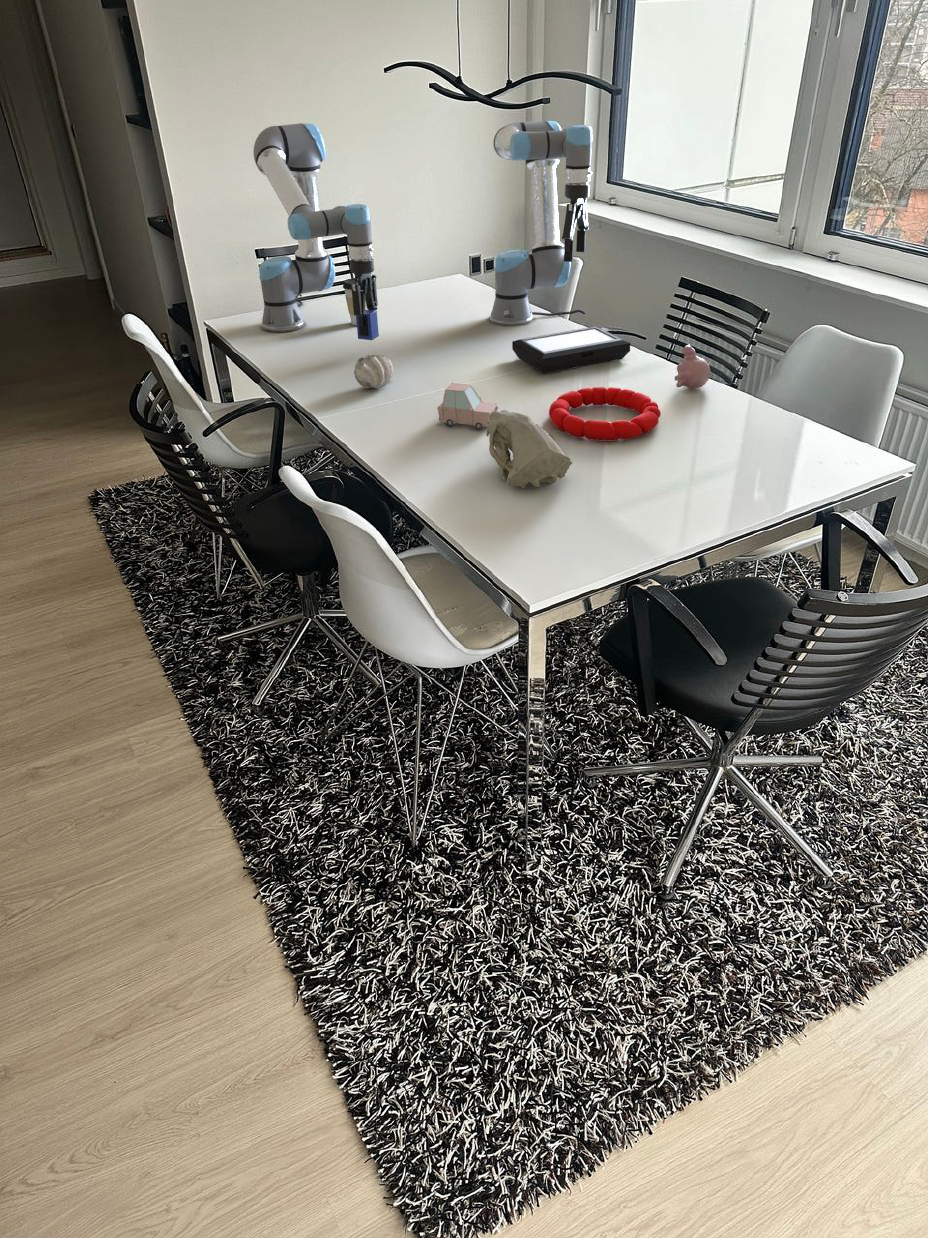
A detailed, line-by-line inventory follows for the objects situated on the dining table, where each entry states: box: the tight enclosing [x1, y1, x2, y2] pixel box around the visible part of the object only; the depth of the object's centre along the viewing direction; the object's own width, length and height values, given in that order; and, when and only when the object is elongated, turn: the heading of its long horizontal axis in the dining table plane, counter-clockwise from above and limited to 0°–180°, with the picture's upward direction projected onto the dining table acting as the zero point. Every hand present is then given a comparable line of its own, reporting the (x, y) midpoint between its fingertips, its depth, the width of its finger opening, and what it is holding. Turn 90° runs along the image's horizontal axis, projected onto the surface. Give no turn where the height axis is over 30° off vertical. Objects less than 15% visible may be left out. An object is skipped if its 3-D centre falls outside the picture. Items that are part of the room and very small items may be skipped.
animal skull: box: [485, 409, 573, 489], centre depth 216 cm, size 17×25×20 cm
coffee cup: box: [342, 277, 368, 327], centre depth 323 cm, size 10×10×15 cm
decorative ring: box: [548, 386, 661, 442], centre depth 242 cm, size 7×30×30 cm
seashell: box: [353, 354, 394, 389], centre depth 268 cm, size 10×15×10 cm
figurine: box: [674, 344, 711, 390], centre depth 259 cm, size 9×11×12 cm
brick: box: [356, 310, 380, 341], centre depth 292 cm, size 5×5×8 cm
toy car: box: [437, 382, 499, 431], centre depth 243 cm, size 9×15×10 cm, turn 70°
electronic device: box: [511, 326, 631, 374], centre depth 286 cm, size 32×6×20 cm
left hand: (368, 332), depth 293 cm, fingers closed on brick, 5 cm apart
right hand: (574, 256), depth 284 cm, fingers open, 13 cm apart
